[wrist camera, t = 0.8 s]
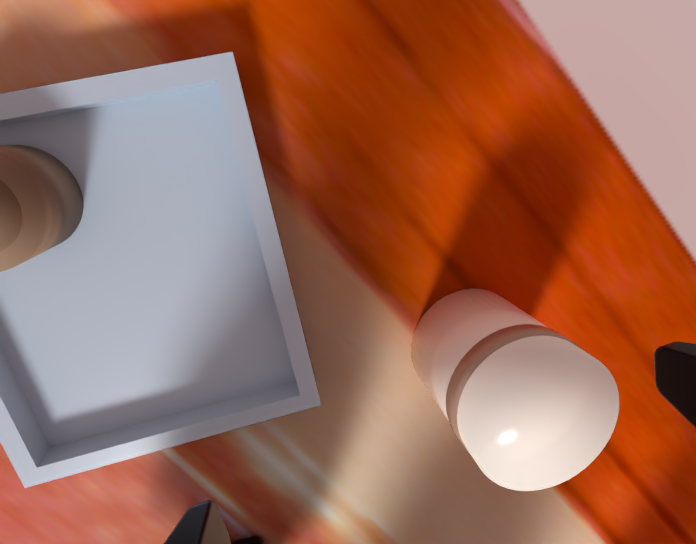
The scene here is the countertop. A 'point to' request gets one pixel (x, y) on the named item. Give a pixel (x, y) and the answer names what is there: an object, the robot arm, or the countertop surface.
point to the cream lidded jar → (514, 389)
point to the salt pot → (35, 203)
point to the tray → (147, 276)
